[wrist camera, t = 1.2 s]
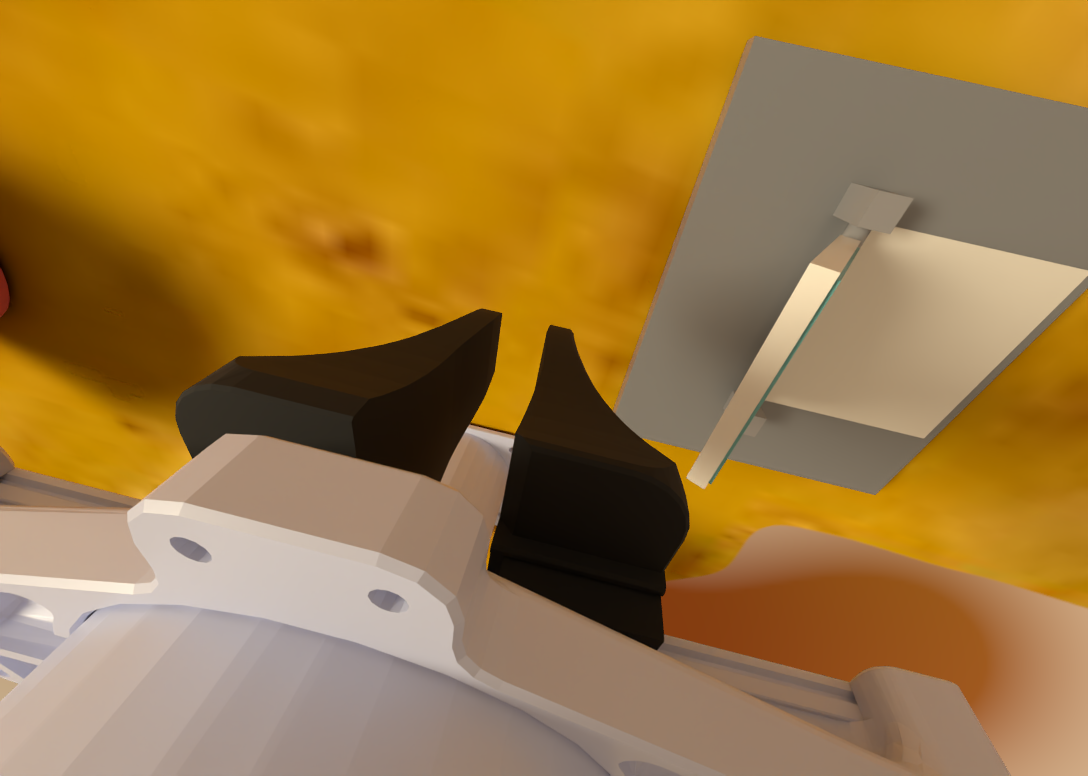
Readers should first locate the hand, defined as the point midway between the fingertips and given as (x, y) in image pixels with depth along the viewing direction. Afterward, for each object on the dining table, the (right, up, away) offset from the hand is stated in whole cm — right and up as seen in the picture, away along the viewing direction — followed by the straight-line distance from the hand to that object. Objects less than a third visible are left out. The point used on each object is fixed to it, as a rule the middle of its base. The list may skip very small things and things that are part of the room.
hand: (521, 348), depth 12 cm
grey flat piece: (+14, +2, +7) cm, 16 cm away
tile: (+9, 0, +3) cm, 9 cm away
